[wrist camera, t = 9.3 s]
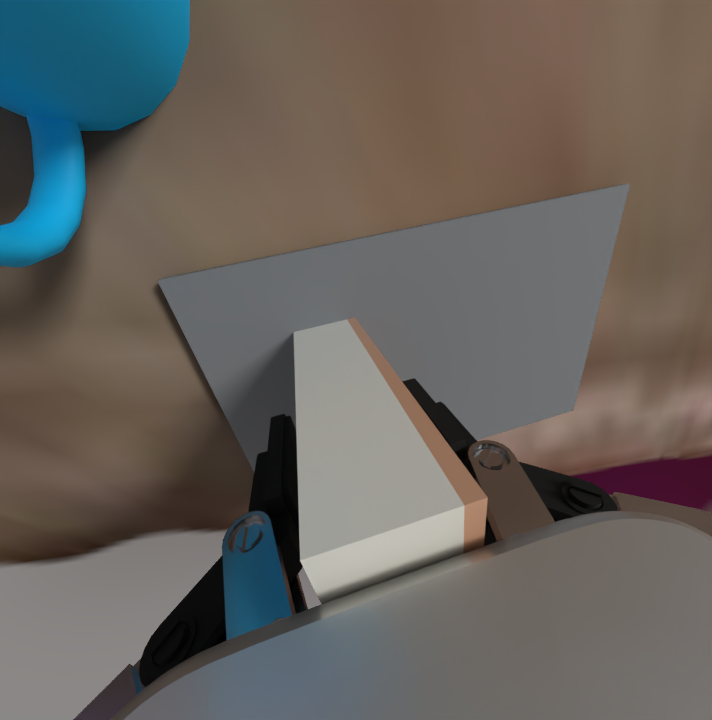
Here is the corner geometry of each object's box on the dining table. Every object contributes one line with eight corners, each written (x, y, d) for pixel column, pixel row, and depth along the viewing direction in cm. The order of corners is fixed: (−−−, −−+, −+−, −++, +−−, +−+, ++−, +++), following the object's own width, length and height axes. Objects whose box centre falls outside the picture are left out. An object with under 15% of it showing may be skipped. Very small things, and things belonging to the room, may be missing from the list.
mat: (163, 278, 11) (156, 280, 11) (616, 185, 14) (630, 183, 13) (270, 495, 18) (269, 503, 17) (565, 405, 20) (573, 410, 20)
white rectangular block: (293, 332, 13) (300, 560, 4) (354, 317, 13) (488, 497, 4) (326, 441, 16) (370, 703, 7) (374, 427, 16) (474, 660, 7)
